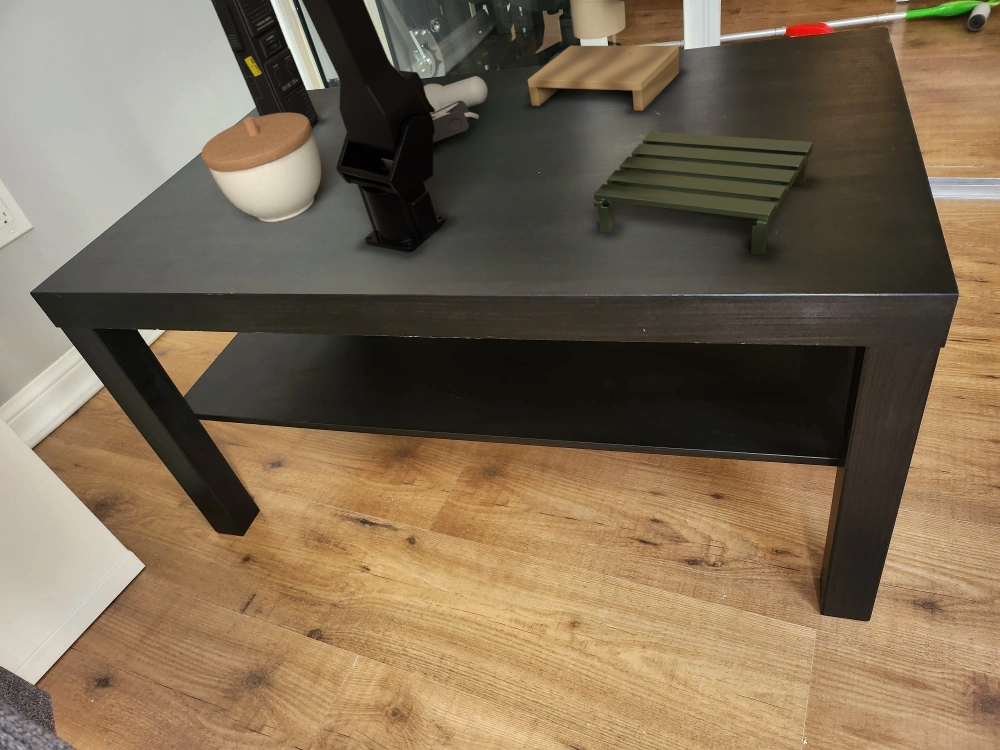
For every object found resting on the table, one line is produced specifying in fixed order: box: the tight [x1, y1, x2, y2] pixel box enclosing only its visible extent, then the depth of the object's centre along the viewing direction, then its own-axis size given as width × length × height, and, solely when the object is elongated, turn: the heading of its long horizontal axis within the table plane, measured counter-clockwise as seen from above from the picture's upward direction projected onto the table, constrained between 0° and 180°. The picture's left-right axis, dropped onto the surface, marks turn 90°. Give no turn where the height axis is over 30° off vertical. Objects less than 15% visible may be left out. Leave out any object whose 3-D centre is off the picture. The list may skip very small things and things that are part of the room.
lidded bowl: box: [200, 113, 322, 223], centre depth 82 cm, size 13×13×11 cm
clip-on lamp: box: [423, 75, 489, 143], centre depth 93 cm, size 12×6×18 cm
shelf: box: [527, 45, 680, 112], centre depth 93 cm, size 16×12×4 cm
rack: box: [592, 131, 814, 256], centre depth 67 cm, size 16×14×4 cm
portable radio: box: [210, 0, 320, 127], centre depth 97 cm, size 8×6×25 cm
